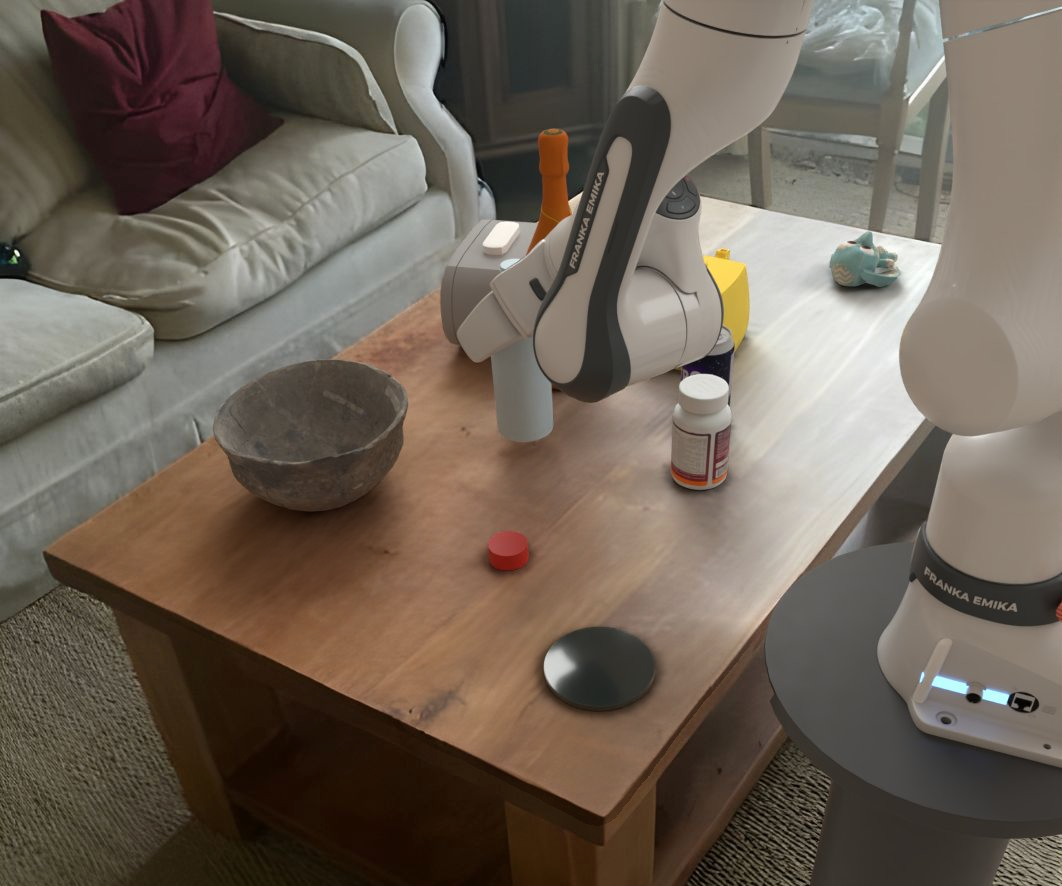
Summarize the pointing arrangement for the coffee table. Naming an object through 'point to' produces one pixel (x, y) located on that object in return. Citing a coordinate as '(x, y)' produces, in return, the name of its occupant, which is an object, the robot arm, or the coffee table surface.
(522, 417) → the bottle
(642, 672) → the coaster
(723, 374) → the beverage can
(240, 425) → the bowl
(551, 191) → the wine bottle
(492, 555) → the cap
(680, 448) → the pill bottle
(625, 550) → the coffee table surface
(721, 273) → the teapot
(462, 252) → the alarm clock
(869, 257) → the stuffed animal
